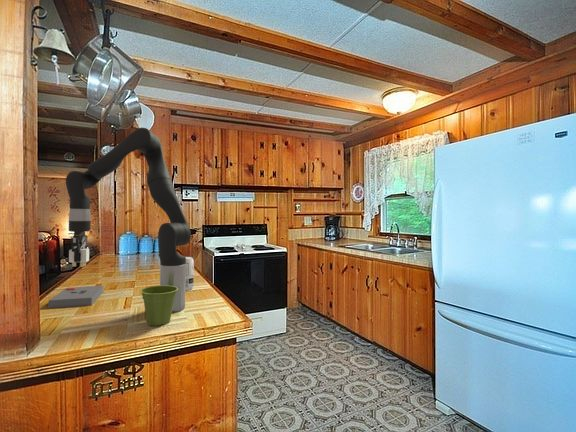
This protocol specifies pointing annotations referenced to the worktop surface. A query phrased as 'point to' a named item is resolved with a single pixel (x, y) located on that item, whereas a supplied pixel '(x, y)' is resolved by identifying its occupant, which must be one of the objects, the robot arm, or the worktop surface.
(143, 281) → the worktop surface
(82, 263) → the plug
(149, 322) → the plant pot
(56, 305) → the socket plate
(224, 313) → the worktop surface
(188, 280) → the supplement can
